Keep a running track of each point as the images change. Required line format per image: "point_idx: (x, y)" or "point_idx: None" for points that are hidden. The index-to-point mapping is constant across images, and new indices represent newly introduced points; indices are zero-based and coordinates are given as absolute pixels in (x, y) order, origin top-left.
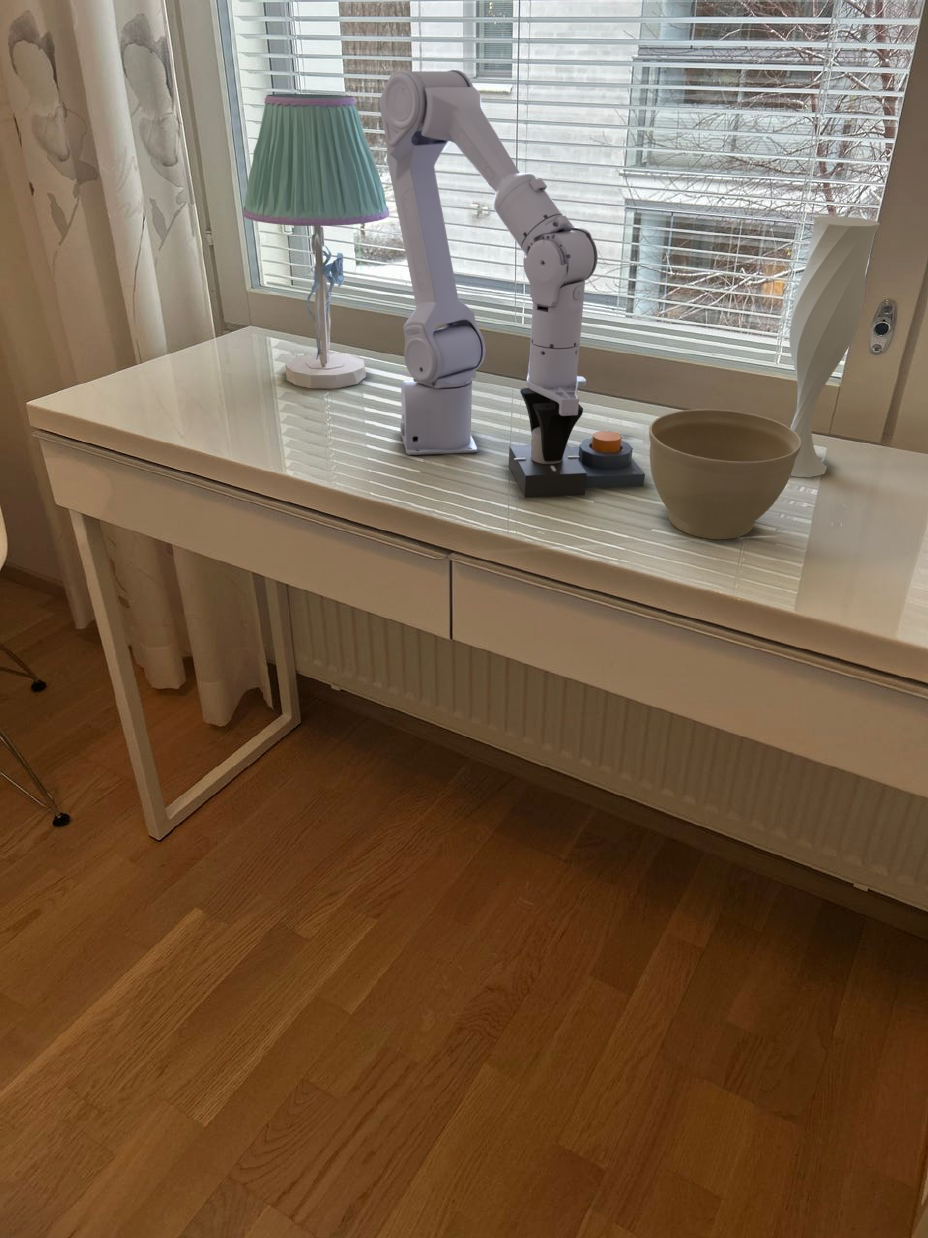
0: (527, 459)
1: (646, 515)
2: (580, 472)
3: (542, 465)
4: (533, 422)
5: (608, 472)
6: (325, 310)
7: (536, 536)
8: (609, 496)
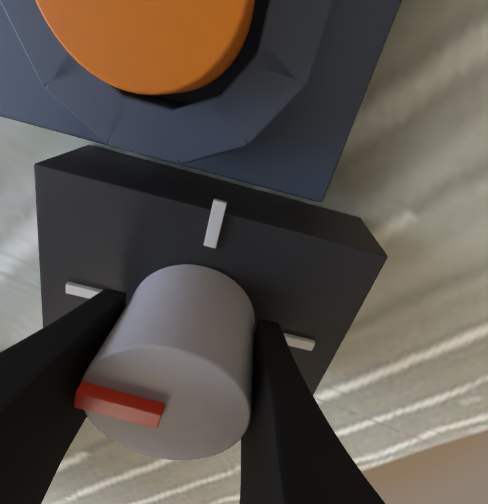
0: None
1: None
2: (370, 275)
3: None
4: (62, 449)
5: (330, 85)
6: None
7: (478, 412)
8: (409, 136)
